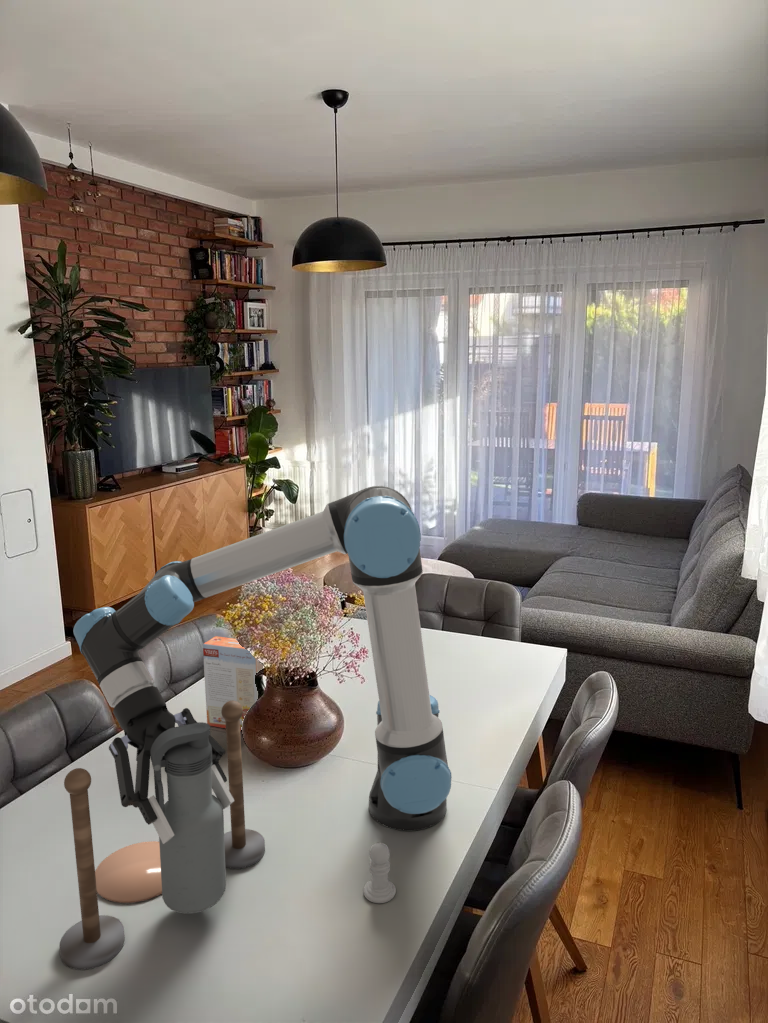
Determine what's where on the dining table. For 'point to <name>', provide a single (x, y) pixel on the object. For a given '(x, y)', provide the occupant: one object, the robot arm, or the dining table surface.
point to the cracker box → (228, 677)
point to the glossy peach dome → (130, 873)
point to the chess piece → (379, 875)
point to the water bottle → (189, 820)
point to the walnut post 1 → (87, 890)
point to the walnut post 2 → (238, 798)
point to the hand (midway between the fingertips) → (200, 821)
